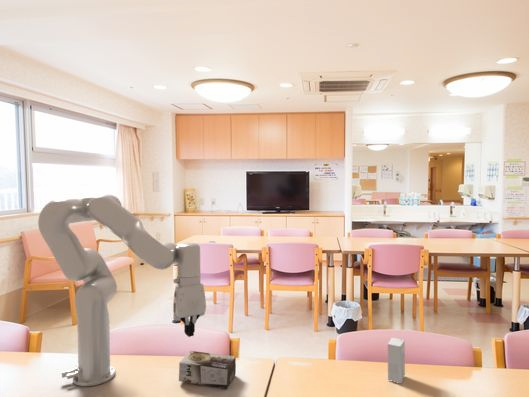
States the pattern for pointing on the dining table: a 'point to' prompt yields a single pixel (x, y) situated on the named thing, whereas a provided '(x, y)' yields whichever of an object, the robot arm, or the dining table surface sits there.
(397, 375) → the skincare box
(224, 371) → the coffee box
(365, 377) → the dining table surface
